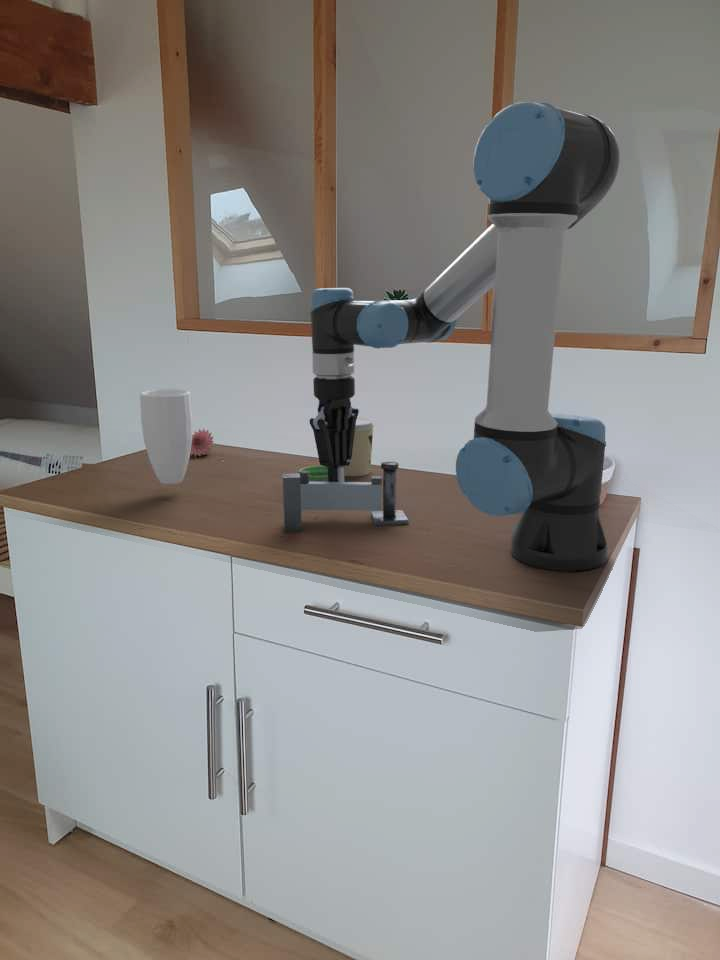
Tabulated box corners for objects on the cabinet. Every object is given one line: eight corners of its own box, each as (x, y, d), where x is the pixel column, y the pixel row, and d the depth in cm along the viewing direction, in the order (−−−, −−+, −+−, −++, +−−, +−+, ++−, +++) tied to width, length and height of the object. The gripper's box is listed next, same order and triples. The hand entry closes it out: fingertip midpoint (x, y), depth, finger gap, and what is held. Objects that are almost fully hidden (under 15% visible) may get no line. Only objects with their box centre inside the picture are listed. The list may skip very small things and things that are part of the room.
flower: (207, 428, 194) (196, 419, 189) (226, 444, 190) (215, 435, 186) (187, 451, 194) (176, 443, 189) (206, 468, 190) (195, 460, 185)
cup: (159, 505, 148) (151, 398, 142) (138, 493, 156) (129, 391, 150) (206, 495, 154) (200, 392, 149) (183, 485, 162) (177, 387, 157)
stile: (301, 531, 133) (300, 477, 130) (284, 532, 132) (283, 477, 130) (300, 525, 136) (299, 472, 133) (283, 526, 135) (282, 473, 133)
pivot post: (408, 523, 136) (409, 467, 134) (376, 525, 136) (376, 468, 133) (401, 514, 142) (402, 459, 139) (371, 515, 141) (371, 460, 138)
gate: (381, 507, 139) (381, 471, 138) (381, 510, 137) (381, 474, 136) (296, 506, 140) (295, 470, 138) (295, 509, 138) (294, 473, 136)
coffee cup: (379, 475, 170) (380, 423, 167) (341, 479, 167) (341, 426, 164) (364, 465, 179) (364, 416, 176) (327, 469, 175) (327, 419, 172)
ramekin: (290, 490, 158) (289, 470, 157) (321, 482, 165) (320, 463, 163) (318, 499, 152) (318, 478, 151) (349, 490, 159) (349, 470, 157)
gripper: (330, 381, 128) (334, 511, 134) (370, 372, 138) (371, 493, 144) (295, 378, 131) (300, 505, 138) (336, 369, 142) (339, 487, 148)
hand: (337, 499), depth 141 cm, fingers closed
